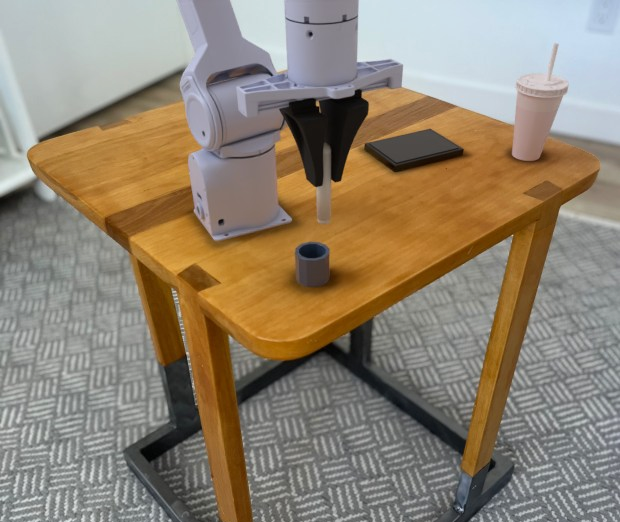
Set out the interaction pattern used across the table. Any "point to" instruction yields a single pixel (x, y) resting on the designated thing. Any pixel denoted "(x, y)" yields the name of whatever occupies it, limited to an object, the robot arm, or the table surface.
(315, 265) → the pencil cup
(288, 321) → the table surface
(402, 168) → the tablet
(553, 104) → the smoothie
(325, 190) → the stylus
